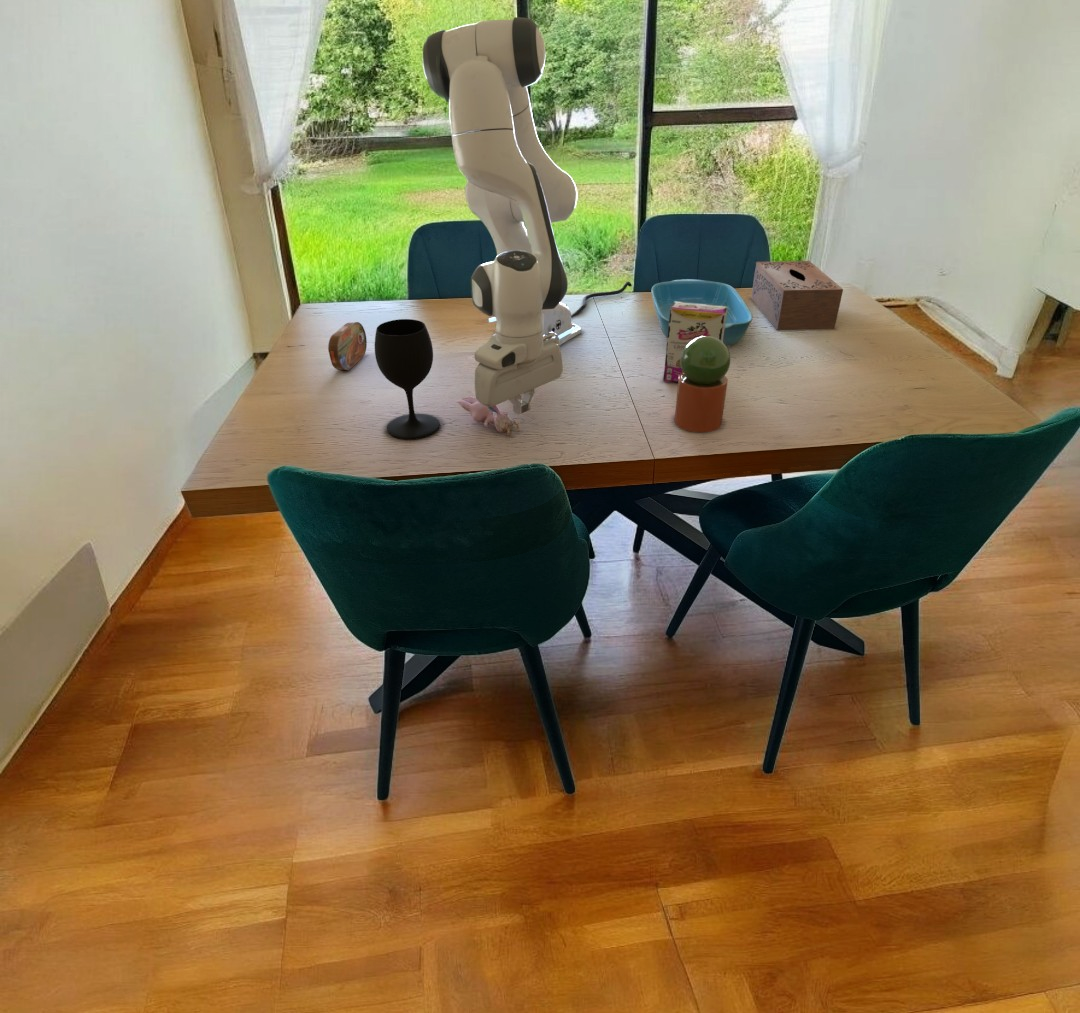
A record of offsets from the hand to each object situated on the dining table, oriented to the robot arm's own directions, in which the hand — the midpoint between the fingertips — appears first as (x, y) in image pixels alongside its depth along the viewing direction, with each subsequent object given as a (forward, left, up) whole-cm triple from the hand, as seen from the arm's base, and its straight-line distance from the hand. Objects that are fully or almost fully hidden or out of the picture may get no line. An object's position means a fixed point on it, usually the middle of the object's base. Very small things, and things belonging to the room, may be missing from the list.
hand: (522, 411), depth 141 cm
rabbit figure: (+6, -4, -2) cm, 7 cm away
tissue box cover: (-92, +8, -2) cm, 92 cm away
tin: (+7, -50, -2) cm, 50 cm away
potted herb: (-22, +26, -1) cm, 34 cm away
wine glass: (+17, -13, -2) cm, 21 cm away
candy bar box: (-37, +14, -2) cm, 40 cm away
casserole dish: (-66, -4, -2) cm, 66 cm away
